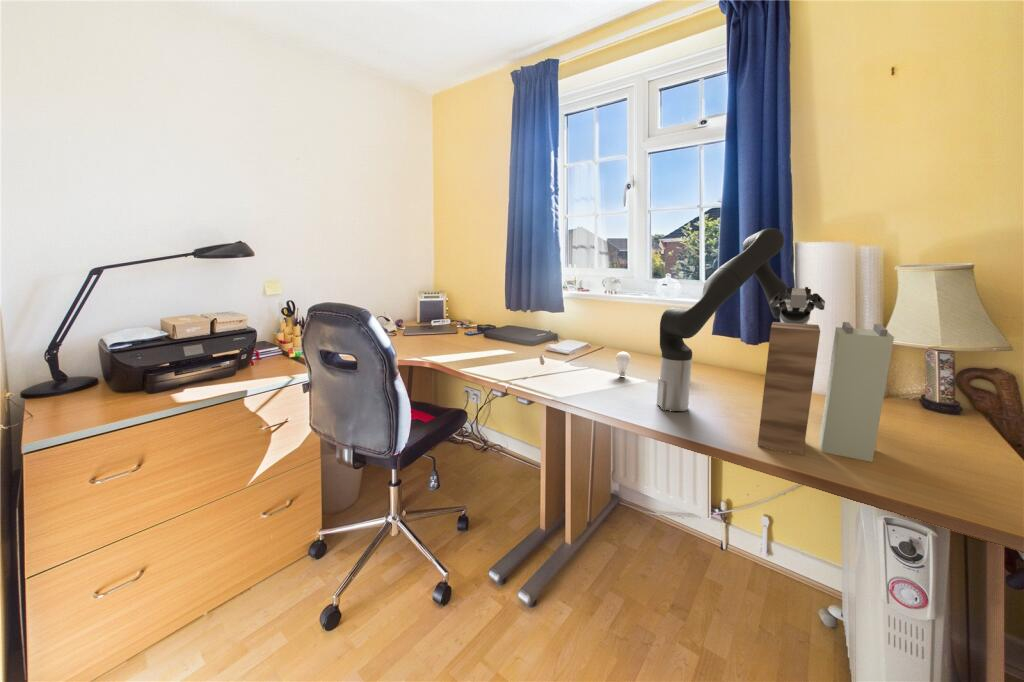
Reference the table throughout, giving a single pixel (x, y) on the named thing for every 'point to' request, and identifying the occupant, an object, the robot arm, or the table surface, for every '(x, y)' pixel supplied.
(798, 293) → the axle bar
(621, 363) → the lightbulb
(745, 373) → the table surface
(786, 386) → the walnut stand
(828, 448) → the cradle stand
